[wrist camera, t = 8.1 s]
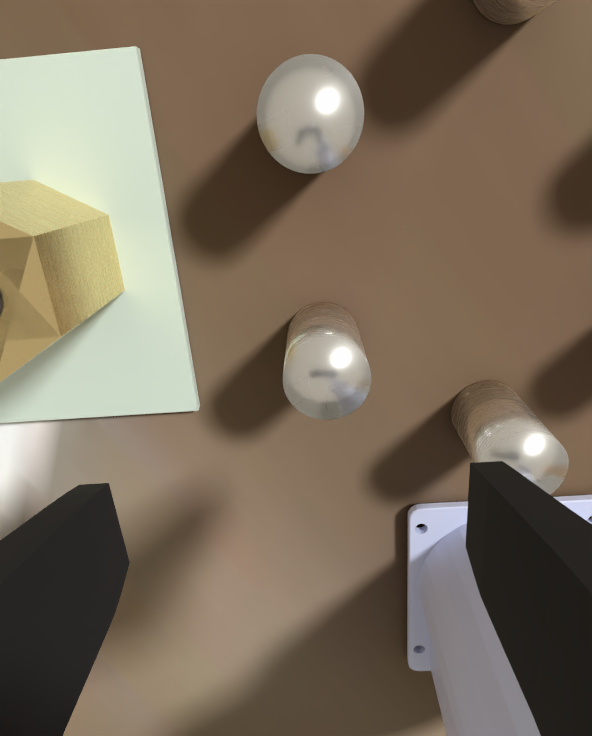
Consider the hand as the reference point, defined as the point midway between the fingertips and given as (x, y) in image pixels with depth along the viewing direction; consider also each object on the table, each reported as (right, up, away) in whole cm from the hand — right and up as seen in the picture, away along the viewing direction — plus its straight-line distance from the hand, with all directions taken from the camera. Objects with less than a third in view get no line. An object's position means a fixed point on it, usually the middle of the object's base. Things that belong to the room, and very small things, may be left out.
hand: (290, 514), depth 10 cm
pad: (-8, +7, +8) cm, 13 cm away
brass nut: (-8, +7, +7) cm, 13 cm away
